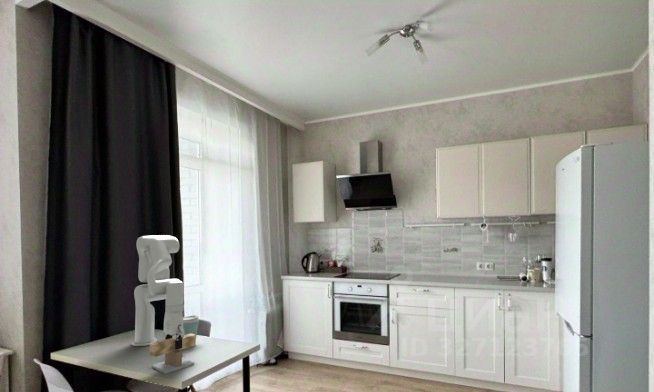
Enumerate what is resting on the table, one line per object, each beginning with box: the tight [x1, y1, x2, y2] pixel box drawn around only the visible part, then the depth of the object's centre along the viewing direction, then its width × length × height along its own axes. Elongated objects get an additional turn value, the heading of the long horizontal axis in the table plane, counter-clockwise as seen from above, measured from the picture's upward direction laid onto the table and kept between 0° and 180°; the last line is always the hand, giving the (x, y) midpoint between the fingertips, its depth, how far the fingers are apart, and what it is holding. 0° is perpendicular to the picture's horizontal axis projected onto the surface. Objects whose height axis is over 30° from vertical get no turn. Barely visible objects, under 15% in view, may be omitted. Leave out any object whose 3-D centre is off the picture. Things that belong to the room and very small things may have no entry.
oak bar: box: [149, 333, 197, 358], centre depth 176 cm, size 20×4×5 cm, turn 139°
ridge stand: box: [151, 350, 195, 375], centre depth 175 cm, size 12×14×7 cm
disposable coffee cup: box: [183, 314, 200, 337], centre depth 205 cm, size 11×11×15 cm
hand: (173, 346), depth 176 cm, fingers open, 8 cm apart
